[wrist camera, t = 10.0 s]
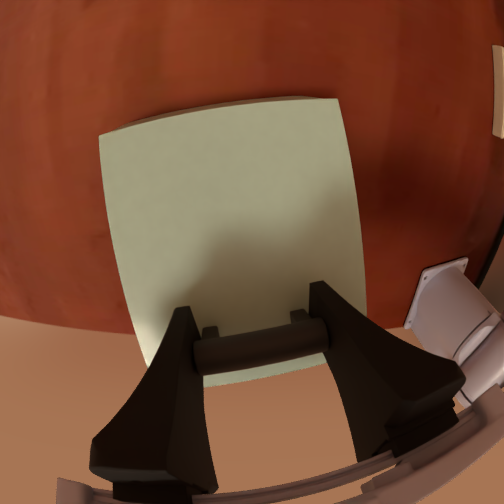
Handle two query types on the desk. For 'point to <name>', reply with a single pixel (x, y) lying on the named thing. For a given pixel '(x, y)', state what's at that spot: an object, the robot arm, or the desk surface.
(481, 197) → the desk surface
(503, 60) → the control block
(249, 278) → the freezer lid
